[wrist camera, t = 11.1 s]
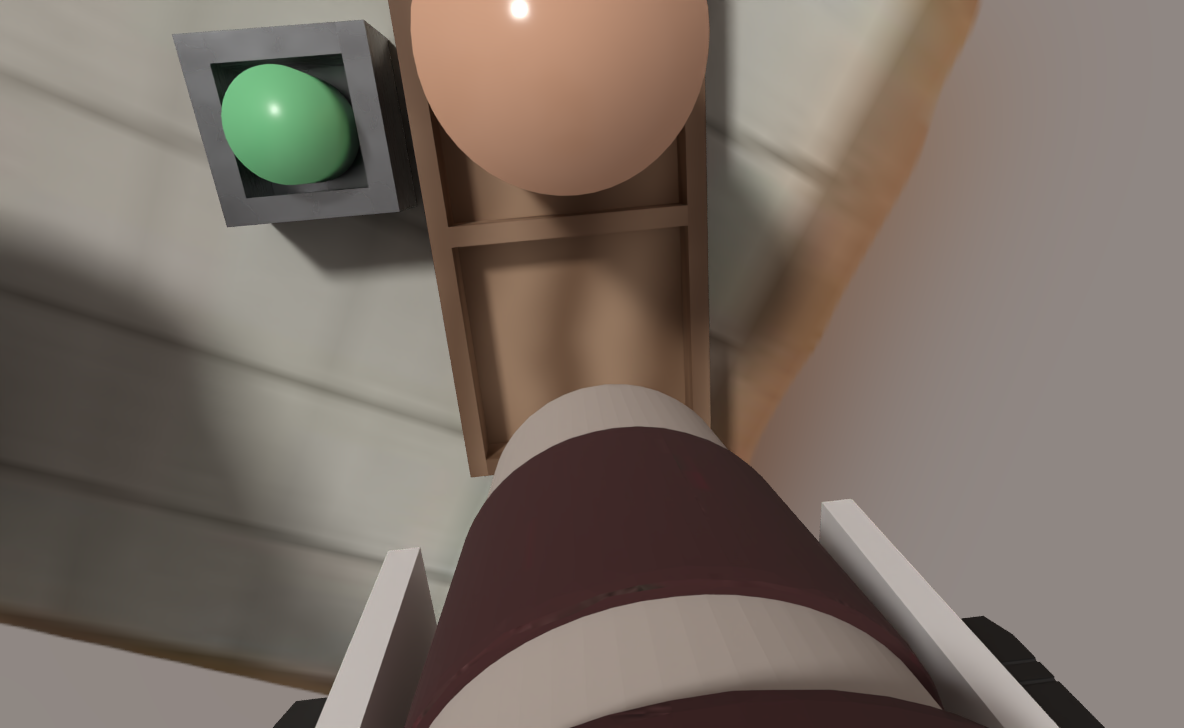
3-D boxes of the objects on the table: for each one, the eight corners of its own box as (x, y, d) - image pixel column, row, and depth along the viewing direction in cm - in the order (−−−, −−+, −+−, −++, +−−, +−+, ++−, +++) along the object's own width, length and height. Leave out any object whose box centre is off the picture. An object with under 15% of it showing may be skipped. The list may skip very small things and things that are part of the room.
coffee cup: (723, 621, 20) (1120, 1636, 6) (438, 600, 19) (146, 1803, 5) (799, 358, 17) (1891, 1189, 3) (466, 312, 16) (-73, 1331, 2)
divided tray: (477, 451, 36) (471, 477, 33) (391, -59, 27) (373, -87, 24) (697, 427, 37) (711, 450, 34) (685, -79, 28) (702, -109, 25)
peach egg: (478, 191, 30) (438, 207, 19) (449, -9, 27) (382, -132, 16) (649, 175, 31) (711, 183, 19) (640, -23, 28) (706, -153, 16)
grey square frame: (265, 219, 31) (227, 227, 27) (221, 51, 28) (172, 34, 24) (417, 205, 31) (399, 211, 27) (387, 38, 29) (363, 19, 25)
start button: (269, 187, 28) (239, 189, 26) (242, 78, 27) (206, 68, 24) (369, 178, 29) (349, 180, 26) (347, 70, 27) (324, 59, 24)
